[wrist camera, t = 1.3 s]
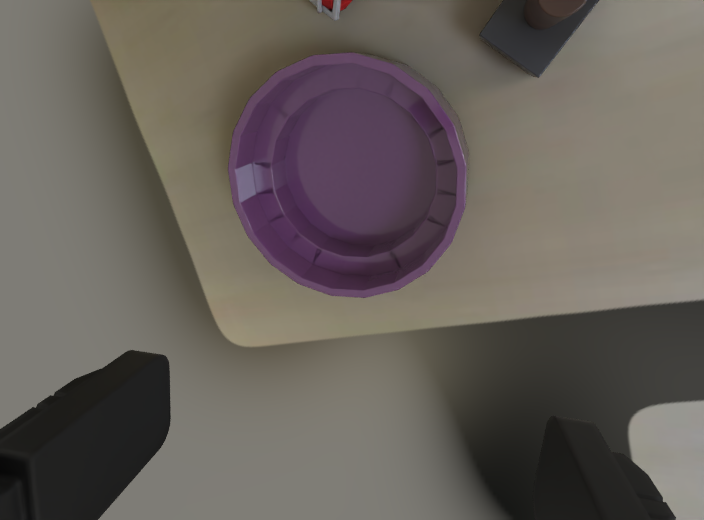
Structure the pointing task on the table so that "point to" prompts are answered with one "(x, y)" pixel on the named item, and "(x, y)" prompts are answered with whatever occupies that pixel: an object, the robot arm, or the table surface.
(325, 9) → the tracker holder
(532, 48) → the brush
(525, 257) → the table surface
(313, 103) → the bowl
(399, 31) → the table surface
